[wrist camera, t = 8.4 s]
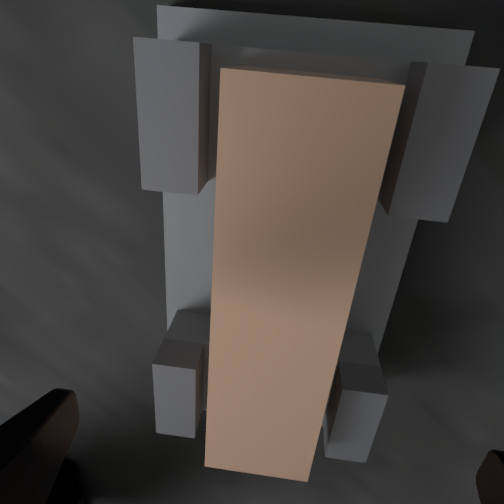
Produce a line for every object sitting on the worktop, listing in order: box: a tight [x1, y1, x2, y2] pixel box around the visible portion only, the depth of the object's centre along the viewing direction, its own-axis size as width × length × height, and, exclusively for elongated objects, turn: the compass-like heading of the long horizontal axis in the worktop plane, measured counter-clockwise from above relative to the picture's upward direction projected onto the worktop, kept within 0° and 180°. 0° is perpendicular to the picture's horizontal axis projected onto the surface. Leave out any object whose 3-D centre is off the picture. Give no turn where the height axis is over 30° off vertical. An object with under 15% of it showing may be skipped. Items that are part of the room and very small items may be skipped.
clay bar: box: [205, 65, 405, 482], centre depth 13 cm, size 4×14×3 cm, turn 176°
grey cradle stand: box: [133, 5, 500, 463], centre depth 15 cm, size 10×17×4 cm, turn 176°
